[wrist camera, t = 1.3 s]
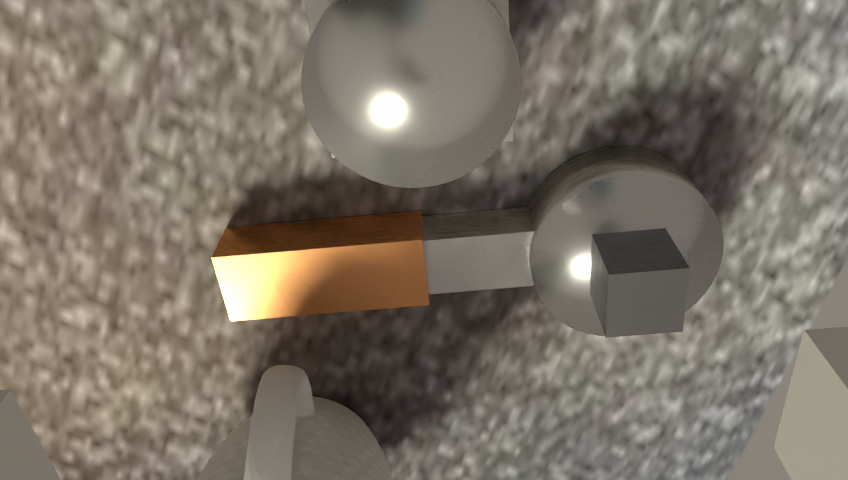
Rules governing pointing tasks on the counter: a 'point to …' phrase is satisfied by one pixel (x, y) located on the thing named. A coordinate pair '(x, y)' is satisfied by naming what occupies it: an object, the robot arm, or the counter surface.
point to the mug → (297, 437)
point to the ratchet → (500, 251)
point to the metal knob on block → (411, 85)
